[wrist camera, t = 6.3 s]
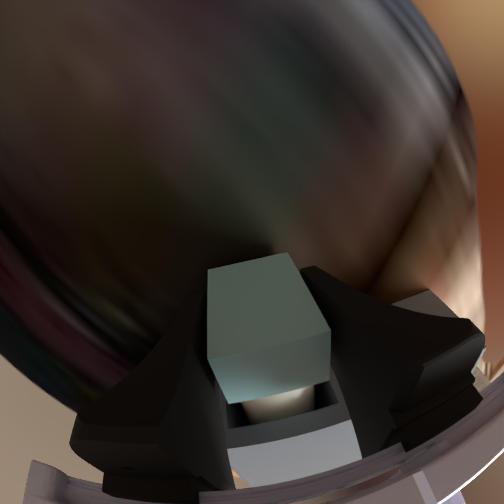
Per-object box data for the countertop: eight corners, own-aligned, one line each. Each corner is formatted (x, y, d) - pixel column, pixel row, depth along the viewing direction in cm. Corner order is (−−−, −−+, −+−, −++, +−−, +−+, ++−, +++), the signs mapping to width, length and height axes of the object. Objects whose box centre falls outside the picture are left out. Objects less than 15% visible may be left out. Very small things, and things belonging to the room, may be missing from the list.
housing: (405, 373, 18) (437, 424, 13) (243, 423, 18) (253, 490, 13) (429, 289, 15) (486, 347, 9) (210, 351, 14) (215, 450, 9)
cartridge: (305, 402, 17) (324, 461, 12) (253, 414, 17) (264, 475, 12) (291, 251, 11) (337, 328, 7) (203, 270, 11) (199, 360, 7)
